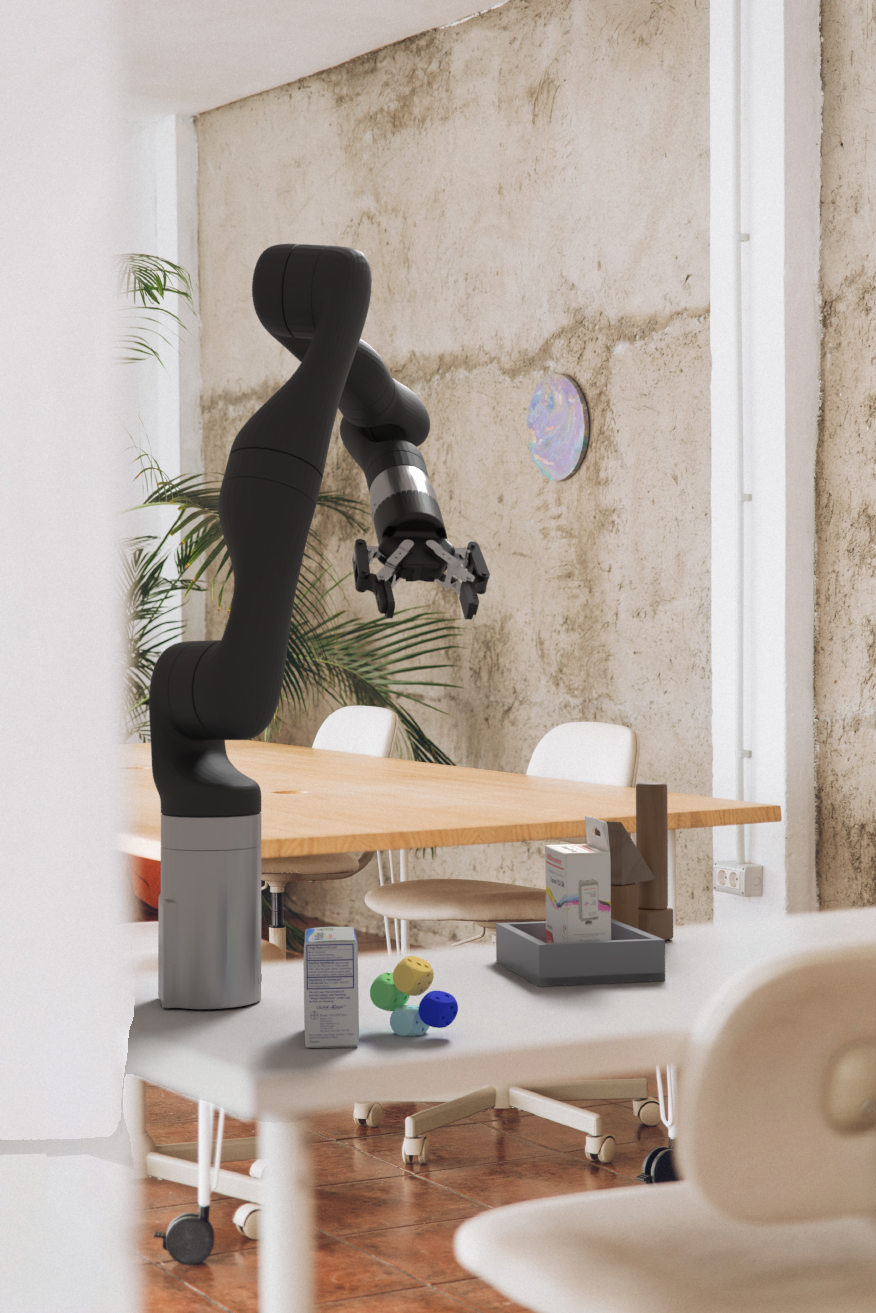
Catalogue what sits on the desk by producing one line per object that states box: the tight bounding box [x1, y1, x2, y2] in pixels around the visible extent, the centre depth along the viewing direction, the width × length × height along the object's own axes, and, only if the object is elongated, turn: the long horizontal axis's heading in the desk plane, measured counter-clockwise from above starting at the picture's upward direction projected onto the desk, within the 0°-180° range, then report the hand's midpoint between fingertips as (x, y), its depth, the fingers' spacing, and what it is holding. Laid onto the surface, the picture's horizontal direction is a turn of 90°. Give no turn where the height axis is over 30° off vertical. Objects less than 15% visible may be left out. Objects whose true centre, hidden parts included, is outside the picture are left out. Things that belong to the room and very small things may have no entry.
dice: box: [369, 955, 459, 1037], centre depth 133 cm, size 8×3×6 cm, turn 53°
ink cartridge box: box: [544, 815, 611, 943], centre depth 163 cm, size 9×5×15 cm, turn 11°
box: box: [495, 919, 666, 988], centre depth 163 cm, size 13×15×4 cm
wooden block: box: [594, 781, 674, 941], centre depth 181 cm, size 4×11×18 cm, turn 140°
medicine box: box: [303, 926, 360, 1049], centre depth 132 cm, size 8×4×9 cm, turn 5°
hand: (431, 613), depth 166 cm, fingers open, 8 cm apart
